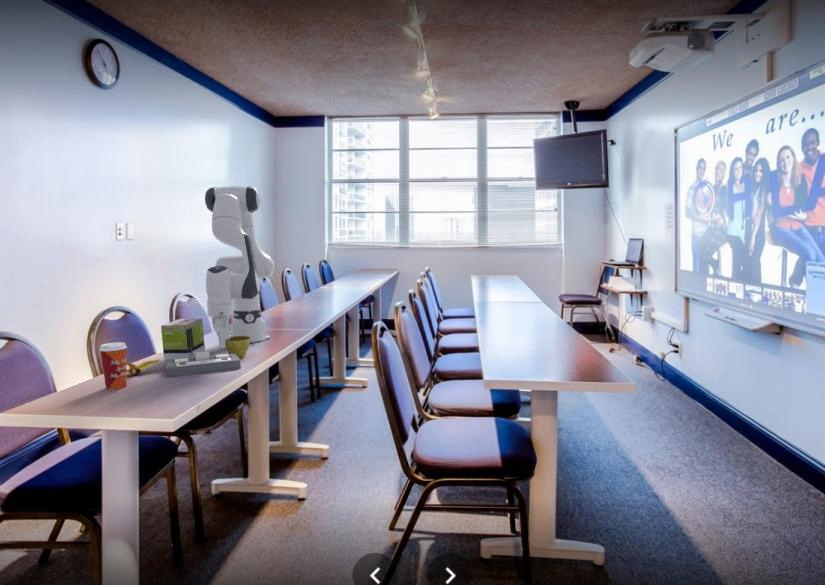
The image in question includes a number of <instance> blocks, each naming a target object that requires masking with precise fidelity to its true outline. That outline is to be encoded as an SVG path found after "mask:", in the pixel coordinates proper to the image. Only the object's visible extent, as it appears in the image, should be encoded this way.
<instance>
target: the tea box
mask: <svg viewBox="0 0 825 585" xmlns="http://www.w3.org/2000/svg"><path fill="white" fill-rule="evenodd" d="M160 326H161V328H160V329H161V342H162V351H163V352H162V353H163V361H164V363H165V362H166V360H169V359H178V358H187V357H195V353H196V352H206V346H205V332H204V322H203V318H178V319H175V320H173V321H170V322H167V323H164V324H162V325H160Z"/></svg>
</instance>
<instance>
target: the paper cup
mask: <svg viewBox="0 0 825 585" xmlns="http://www.w3.org/2000/svg"><path fill="white" fill-rule="evenodd" d="M127 348H128V346H127V345H126V343H125V342H121V341H118V342H108V343H103V344H101V345H100V348H99V350H98V351H100V357H101V362H102V370H103V376H104V383H105V387H106V390H107V389H117V390H120V389H119V388H122V389H124V388H126V387H127V374H126V370H127V363H126V358H127ZM125 386H126V387H125ZM123 387H124V388H123Z"/></svg>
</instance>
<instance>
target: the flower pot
mask: <svg viewBox="0 0 825 585" xmlns="http://www.w3.org/2000/svg"><path fill="white" fill-rule="evenodd" d="M225 346H226V347H225V349H226V351H227V353H234V352H235V353H236V355H237V356H238V358H242V357H241V356H243V357H245V356H244V355H246V354H247V352H248V351H249V348H250V337H248V336H234V337H230V339H228V340H226V342H225Z"/></svg>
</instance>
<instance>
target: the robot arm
mask: <svg viewBox="0 0 825 585" xmlns="http://www.w3.org/2000/svg"><path fill="white" fill-rule="evenodd" d="M261 201H262V200H261V194H260V192H259V190H258V189H257V187H254V186H251V185H250V186H249V185H247V186H243V185H230V186H219V187H217V186H215V187H214V186H213V187H210V188H208V189H207V190H206V192H205V195H204V203H205V205H206V206H205V207H206V208H207V210H208V211H210V212H211V214H212V216H211V217H212V218H211V230H212V234H213V235H212V236H214V237H215V239H216V240H218V241H219V242H220V243H222V244H225V245H227V246H229V247H233V248H235V249H237V250H240V252H241V254H228V255H223V256H220V257H218V259H217V260H216V262H215V266H211V267H209V268H207V270H206V277H205V292H206V295H207V300H206V306H207V307H206V308H207V317H209V318H211V322H212V328H213V331H214V332H215V334H216V335H217V337H218V344H219V347H220V348H221V349H224V348H225V349H226V346H225V342H226V340H228V339H230V337H234V336H248V337H250V343H258V341H259V342H262V341H266V340H269V339H270V338H271V337H270V335H268V334H267V332H266V331H267V330H266V320H264V319H263V318H262V309H261V304H260V303H261V302H260V300H261V299H260V292H261V286H260V285H261V284H260V280H262V279H265V278H270V277H272V276H273V274H274V272H275V267H276V265H275V261H274V259H273V258H272V257H271V256H269V255H268V253H265V252H264V251H263V250H262V248H261V247H260V245H259V243H258V242H257V237H256V233H255V225H254V217H253V216H254V215H253V213H255V212H256V211H257V210H258V209H259V208H260V206H261ZM233 306H234V307H233ZM230 316H233V318H234V319H233V321H231V324H230V321H229V320H230V319H231V317H230ZM268 338H269V339H268Z"/></svg>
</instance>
